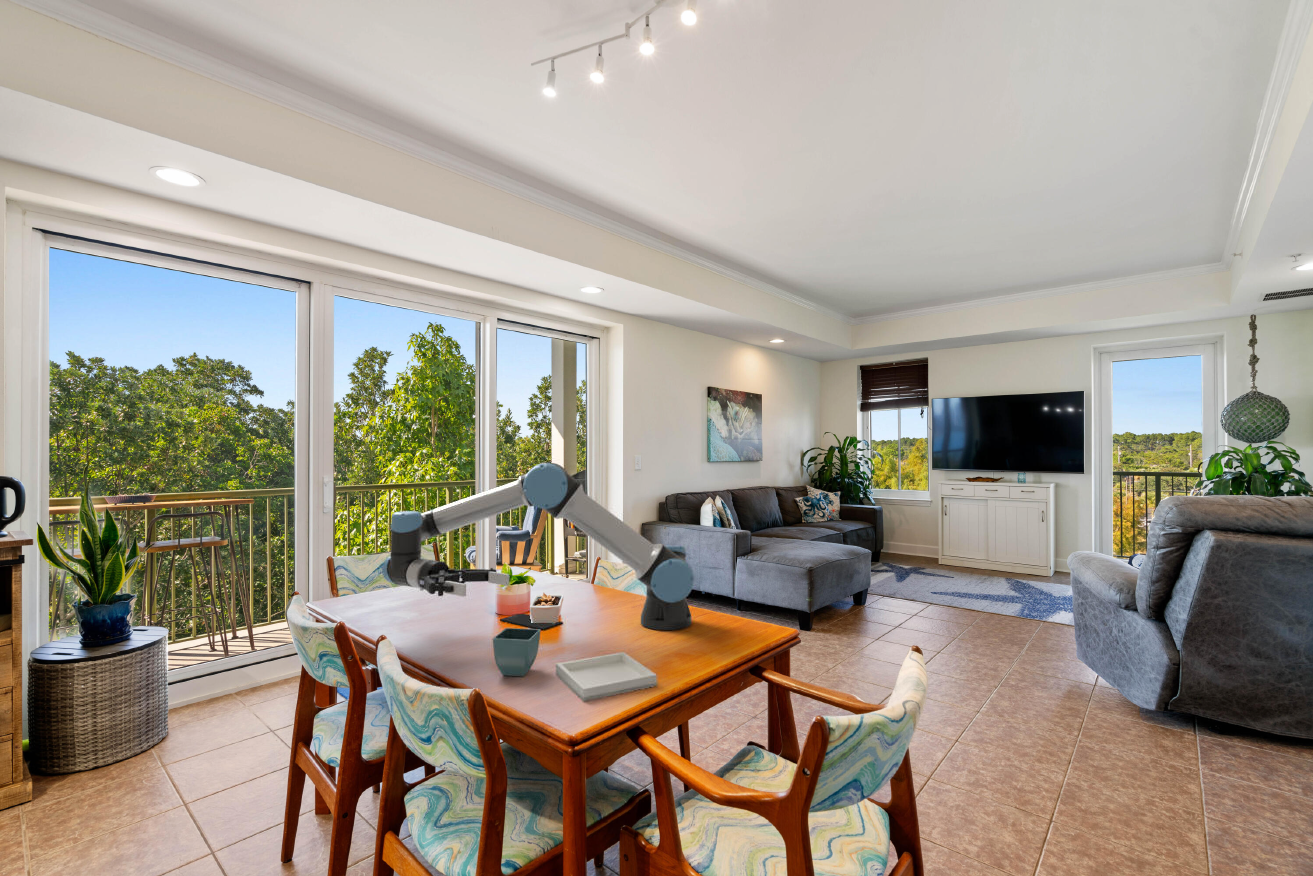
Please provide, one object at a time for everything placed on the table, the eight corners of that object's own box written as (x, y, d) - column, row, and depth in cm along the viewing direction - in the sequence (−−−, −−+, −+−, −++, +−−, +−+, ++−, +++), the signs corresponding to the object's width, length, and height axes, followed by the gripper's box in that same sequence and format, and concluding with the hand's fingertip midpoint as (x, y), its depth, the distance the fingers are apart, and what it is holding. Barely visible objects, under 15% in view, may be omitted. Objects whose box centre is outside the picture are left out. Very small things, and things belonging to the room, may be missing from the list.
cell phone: (520, 615, 191) (520, 612, 191) (563, 625, 181) (563, 621, 181) (498, 622, 183) (498, 619, 183) (542, 632, 173) (542, 629, 173)
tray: (623, 662, 147) (623, 652, 147) (656, 686, 132) (656, 674, 132) (556, 674, 139) (556, 663, 139) (583, 701, 124) (583, 689, 124)
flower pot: (541, 666, 144) (541, 628, 145) (529, 680, 136) (529, 639, 136) (505, 665, 145) (505, 627, 146) (491, 679, 137) (491, 638, 137)
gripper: (467, 581, 168) (524, 590, 157) (385, 599, 147) (444, 612, 135) (467, 553, 168) (524, 561, 157) (386, 568, 147) (444, 578, 136)
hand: (487, 584), depth 146 cm, fingers open, 13 cm apart
